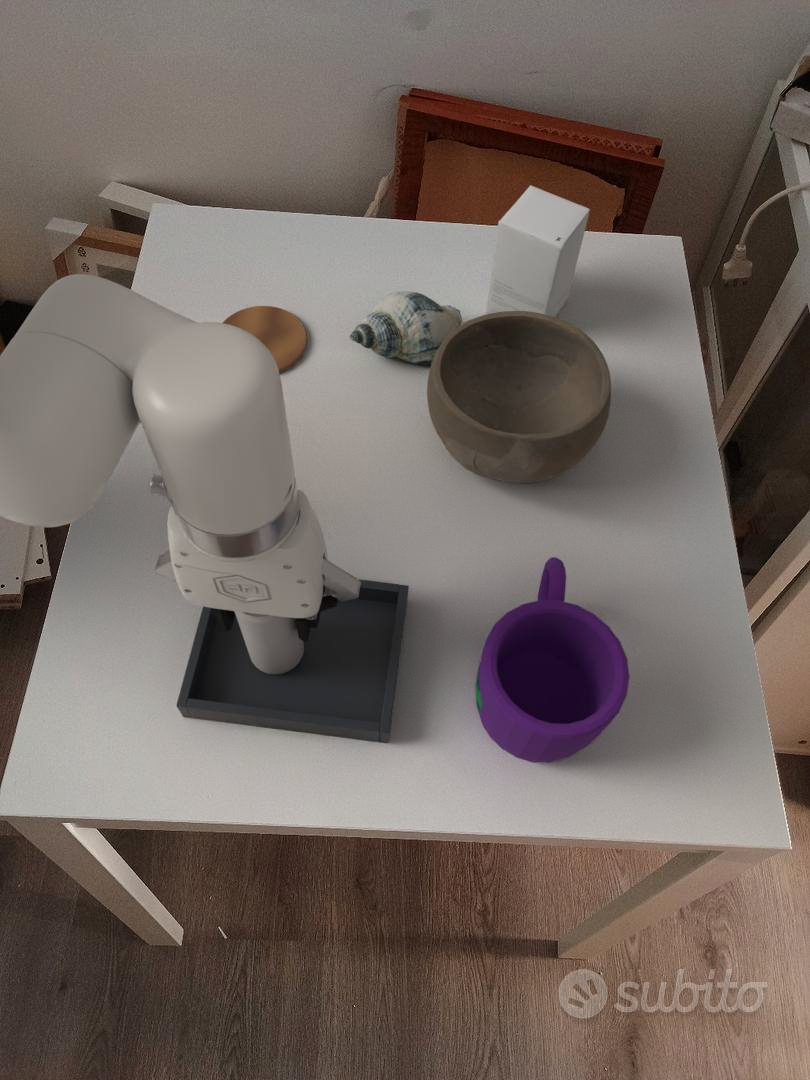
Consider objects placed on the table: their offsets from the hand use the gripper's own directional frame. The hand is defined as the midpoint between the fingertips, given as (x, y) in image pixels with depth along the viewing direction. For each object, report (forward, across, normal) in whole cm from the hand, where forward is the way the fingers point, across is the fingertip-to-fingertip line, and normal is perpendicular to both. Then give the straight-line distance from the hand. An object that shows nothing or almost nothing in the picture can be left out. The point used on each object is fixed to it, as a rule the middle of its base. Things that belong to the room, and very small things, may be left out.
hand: (268, 618), depth 67 cm
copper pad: (+7, -9, +36) cm, 38 cm away
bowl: (+8, +19, +27) cm, 34 cm away
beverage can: (+7, 0, 0) cm, 7 cm away
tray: (+7, +2, 0) cm, 8 cm away
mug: (+8, +23, +1) cm, 24 cm away
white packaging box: (+8, +20, +46) cm, 51 cm away
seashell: (+8, +7, +38) cm, 39 cm away
